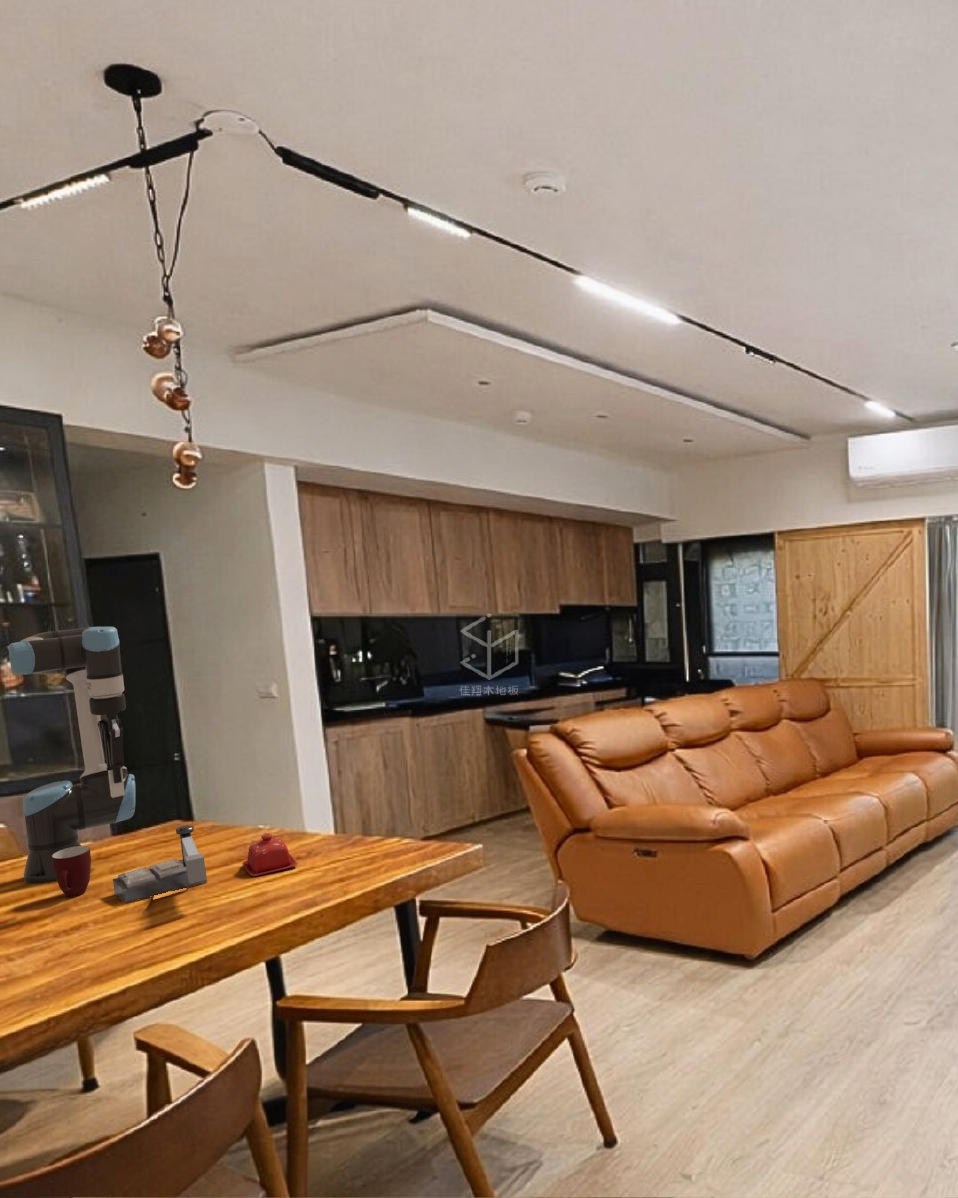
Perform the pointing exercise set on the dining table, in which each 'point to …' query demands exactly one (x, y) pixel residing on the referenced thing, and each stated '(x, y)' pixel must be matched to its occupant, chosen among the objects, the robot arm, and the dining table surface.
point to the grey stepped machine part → (155, 877)
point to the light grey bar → (193, 861)
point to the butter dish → (268, 856)
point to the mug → (72, 869)
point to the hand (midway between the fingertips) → (117, 795)
